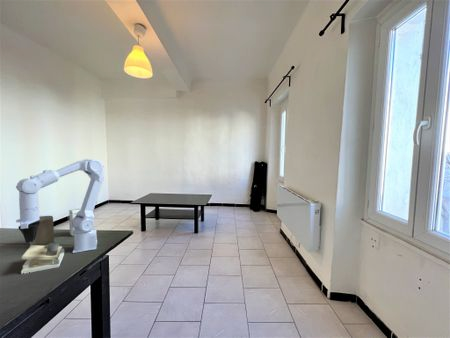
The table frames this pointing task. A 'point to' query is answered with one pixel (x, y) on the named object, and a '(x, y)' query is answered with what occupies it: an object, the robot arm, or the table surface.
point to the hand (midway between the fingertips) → (30, 240)
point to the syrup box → (71, 216)
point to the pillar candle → (44, 232)
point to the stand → (41, 264)
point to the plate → (43, 252)
